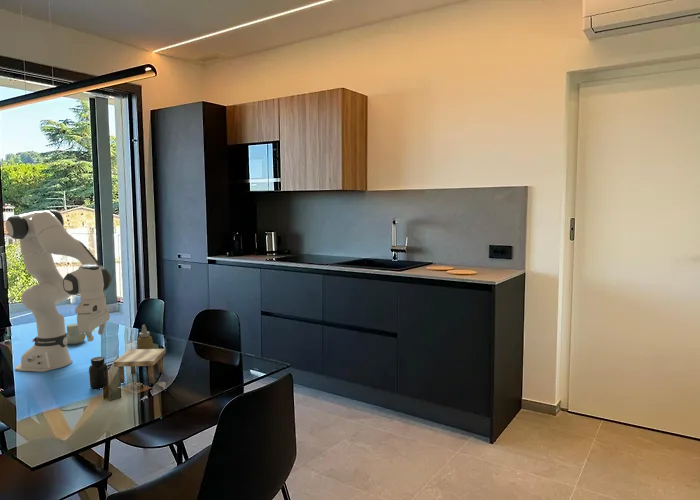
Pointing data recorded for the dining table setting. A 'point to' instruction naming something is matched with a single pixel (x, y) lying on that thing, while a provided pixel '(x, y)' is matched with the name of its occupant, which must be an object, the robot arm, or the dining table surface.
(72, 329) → the air freshener
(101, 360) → the supplement bottle
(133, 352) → the stool
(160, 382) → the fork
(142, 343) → the squeeze bottle
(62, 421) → the dining table surface
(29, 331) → the dining table surface
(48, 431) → the dining table surface
